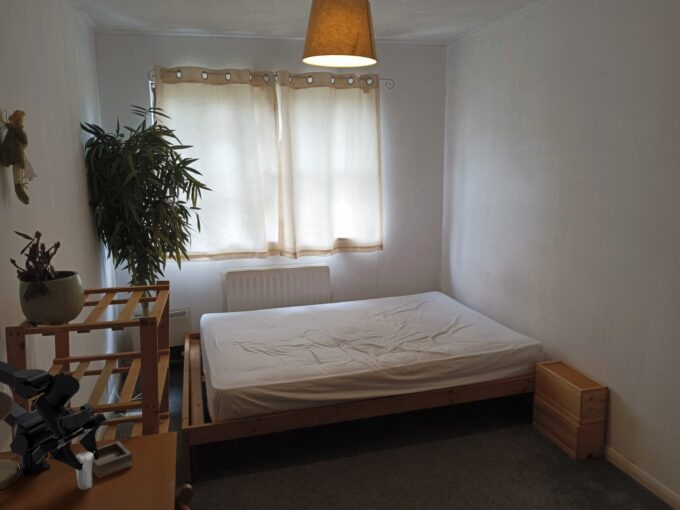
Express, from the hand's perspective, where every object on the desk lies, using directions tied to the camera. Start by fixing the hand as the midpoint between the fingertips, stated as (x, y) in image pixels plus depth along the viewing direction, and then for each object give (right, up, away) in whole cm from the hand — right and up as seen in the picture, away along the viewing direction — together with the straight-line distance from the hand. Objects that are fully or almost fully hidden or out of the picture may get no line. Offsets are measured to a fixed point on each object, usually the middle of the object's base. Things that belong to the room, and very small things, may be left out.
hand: (89, 464), depth 135 cm
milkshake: (-2, -7, +2) cm, 7 cm away
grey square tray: (0, -5, +11) cm, 12 cm away
